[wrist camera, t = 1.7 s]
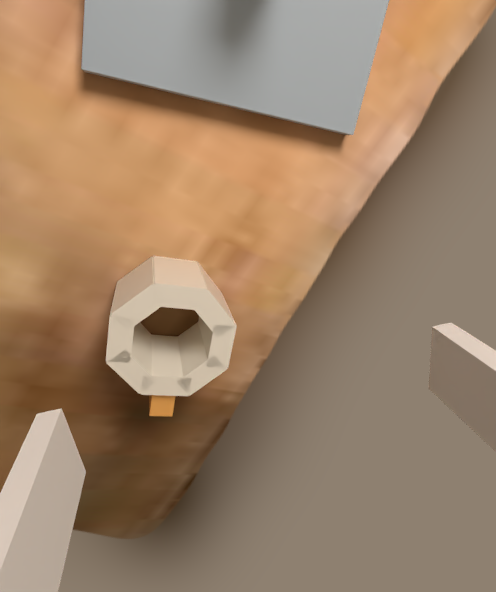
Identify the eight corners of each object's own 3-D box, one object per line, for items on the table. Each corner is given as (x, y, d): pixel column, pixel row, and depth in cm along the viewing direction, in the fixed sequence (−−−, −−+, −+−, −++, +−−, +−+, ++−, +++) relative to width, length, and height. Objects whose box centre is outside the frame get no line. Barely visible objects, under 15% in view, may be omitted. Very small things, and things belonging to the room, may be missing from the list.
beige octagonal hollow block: (108, 371, 32) (100, 419, 27) (119, 251, 29) (112, 278, 23) (206, 376, 34) (217, 421, 29) (227, 265, 31) (243, 292, 26)
